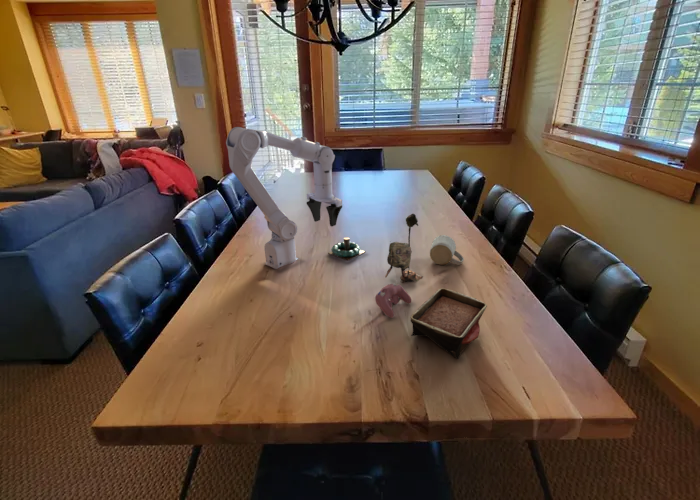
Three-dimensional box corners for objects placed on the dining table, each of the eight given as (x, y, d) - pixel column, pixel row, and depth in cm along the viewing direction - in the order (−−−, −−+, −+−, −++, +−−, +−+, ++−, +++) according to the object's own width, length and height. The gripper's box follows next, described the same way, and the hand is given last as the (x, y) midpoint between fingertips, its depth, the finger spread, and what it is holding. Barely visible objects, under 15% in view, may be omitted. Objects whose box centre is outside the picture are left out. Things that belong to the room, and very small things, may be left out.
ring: (347, 260, 121) (346, 254, 120) (326, 252, 126) (325, 247, 126) (365, 251, 127) (365, 245, 126) (345, 244, 133) (345, 239, 132)
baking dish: (490, 339, 87) (495, 299, 84) (455, 370, 74) (460, 323, 71) (434, 321, 96) (438, 284, 94) (395, 345, 83) (397, 303, 80)
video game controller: (400, 303, 101) (391, 279, 100) (414, 302, 98) (404, 277, 97) (379, 320, 94) (369, 294, 93) (393, 318, 91) (383, 292, 90)
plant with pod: (383, 274, 114) (384, 211, 106) (420, 274, 114) (424, 211, 106) (385, 287, 106) (387, 221, 98) (425, 287, 106) (430, 220, 98)
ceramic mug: (428, 264, 119) (430, 242, 116) (431, 254, 126) (433, 233, 123) (462, 269, 116) (465, 246, 113) (463, 258, 123) (466, 237, 120)
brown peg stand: (348, 263, 121) (347, 245, 119) (328, 256, 127) (327, 239, 124) (365, 254, 127) (365, 237, 125) (345, 248, 133) (345, 231, 130)
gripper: (348, 184, 119) (348, 224, 125) (316, 178, 128) (318, 216, 134) (332, 188, 114) (334, 230, 120) (301, 182, 123) (303, 221, 129)
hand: (325, 223), depth 126 cm, fingers open, 7 cm apart
